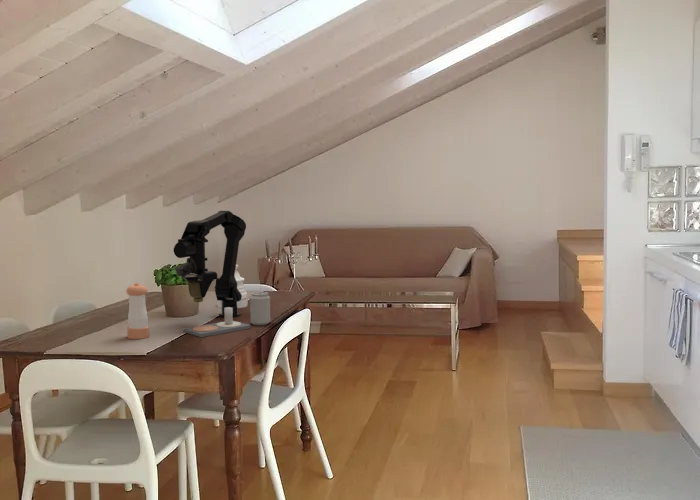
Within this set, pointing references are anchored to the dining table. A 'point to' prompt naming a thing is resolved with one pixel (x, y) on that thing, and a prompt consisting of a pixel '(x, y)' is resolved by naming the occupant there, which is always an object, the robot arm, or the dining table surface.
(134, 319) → the pepper shaker
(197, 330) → the board
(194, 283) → the decorative vase
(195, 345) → the dining table surface
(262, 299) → the can
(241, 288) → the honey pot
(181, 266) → the robot arm
